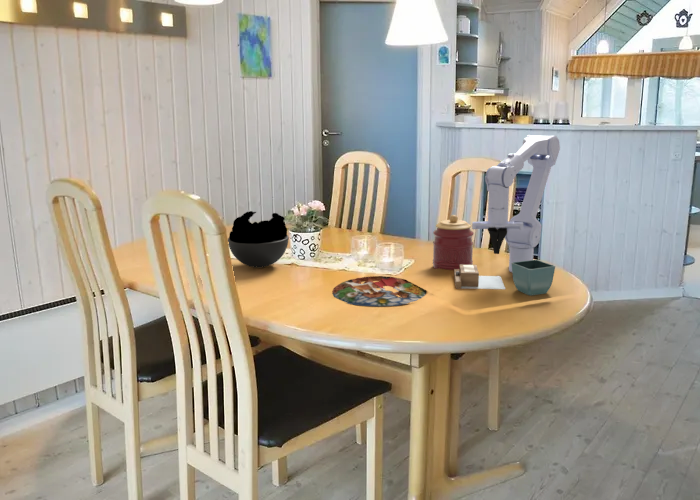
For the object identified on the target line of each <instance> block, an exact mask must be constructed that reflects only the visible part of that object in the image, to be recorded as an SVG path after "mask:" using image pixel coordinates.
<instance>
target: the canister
mask: <svg viewBox="0 0 700 500" xmlns="http://www.w3.org/2000/svg"><path fill="white" fill-rule="evenodd" d="M458 217H459V216H457V214H451V215H450V216H449V219H443V220H441V221H439V222H438V223H437V224H436V225H435V228H436V229H435V230H434V231H433V232H432V234H433V235H434V240H433V242H432V244H433V248H432V249H433V250H432V252H433V255H432V256H433V259H432V264H433V265H432V266H433V269H435V270H436V269H437V270H438V269H441V270H446V271H447V270H448V271H454V269H459V270H460V264H461V265H474V264H473V262H474V260H473V247H474V242H473V236H474V234H475V233H474V231H473V230H471V229H472V225H471V224H469V222H467V221H466V220H461V219H459V218H458Z"/></svg>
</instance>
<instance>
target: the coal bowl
mask: <svg viewBox="0 0 700 500" xmlns="http://www.w3.org/2000/svg"><path fill="white" fill-rule="evenodd" d="M256 213H257V211H253V210H250V211H246V212H244V213H243V214H242V215H241V216H238V217H236V218H235V219H234V220H233V223H232V224H233V226H232V228H231V231H230V232H229V234H228V235H229V237H228V238H227V243H228V242H229V244H228V247H229V249H230V252H231V253H232V255H233V256H234V258H235V259H237V260H238V261H239V262H240V263H241V264H243V265H245V266H247V267H250V268H265V267H269V266H271V265H273V264H275V263H276V262H278V261H279V260H280V259H281V258H283V255H284V254H285V252H286V250H287V248H288V244H289V238H290V237H289V235H288V228H287V225H286V222H285V220H286V219H285V217H284V216H283V215H281V214H279V213H277V212H273V213H272V214H271V218H270V219H269V220H268V219H267V220H261V221H259V222H257V221H254V222H251V221H250V219H251V218H252V217H253V216H254V215H255V214H256Z"/></svg>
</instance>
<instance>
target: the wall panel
mask: <svg viewBox="0 0 700 500" xmlns="http://www.w3.org/2000/svg"><path fill="white" fill-rule="evenodd" d="M453 276H454V277H453V278H454V284H455V288H456V289H469V290H470V289H471V290H472V289H475V290H478V289H479V290H481V289H482V290H506V287H505V285H504V281H503V279H502V277H501V276H500V275H479V284H478V287H468V286H461V276H460V271H459V269H454V270H453Z"/></svg>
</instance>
